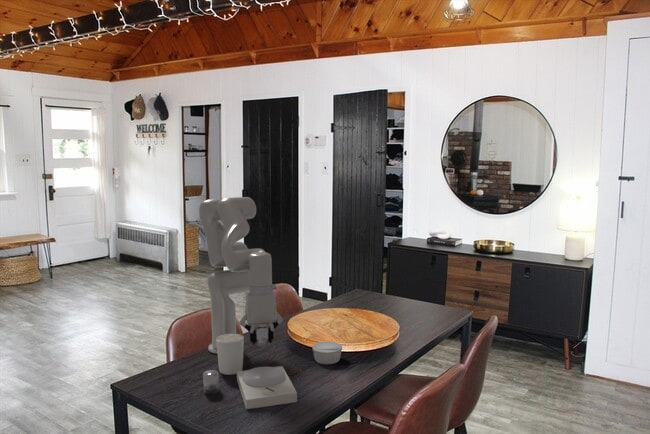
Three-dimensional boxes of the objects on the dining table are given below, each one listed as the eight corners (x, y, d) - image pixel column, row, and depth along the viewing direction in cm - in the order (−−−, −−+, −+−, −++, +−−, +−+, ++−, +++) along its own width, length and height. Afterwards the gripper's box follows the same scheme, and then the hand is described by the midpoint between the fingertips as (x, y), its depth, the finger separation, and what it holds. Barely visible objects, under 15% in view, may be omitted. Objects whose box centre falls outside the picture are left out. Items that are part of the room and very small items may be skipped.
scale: (236, 379, 181) (236, 368, 180) (282, 374, 185) (282, 363, 185) (246, 409, 160) (245, 396, 159) (297, 402, 164) (297, 389, 164)
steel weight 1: (202, 388, 174) (201, 371, 173) (218, 386, 176) (217, 369, 175) (205, 395, 169) (203, 377, 169) (220, 392, 171) (219, 374, 170)
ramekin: (325, 368, 191) (325, 354, 190) (306, 359, 199) (306, 345, 199) (348, 360, 198) (348, 347, 197) (329, 352, 206) (329, 339, 206)
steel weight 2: (253, 342, 178) (252, 325, 178) (267, 340, 180) (267, 323, 179) (255, 347, 174) (255, 329, 173) (270, 345, 175) (270, 328, 174)
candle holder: (218, 377, 183) (217, 344, 182) (216, 366, 192) (215, 334, 191) (246, 374, 186) (245, 341, 184) (243, 363, 195) (242, 332, 194)
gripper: (283, 285, 181) (284, 336, 183) (233, 288, 176) (234, 341, 178) (288, 290, 173) (289, 343, 175) (236, 294, 169) (237, 349, 171)
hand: (261, 341), depth 177 cm, fingers closed on steel weight 2, 5 cm apart
